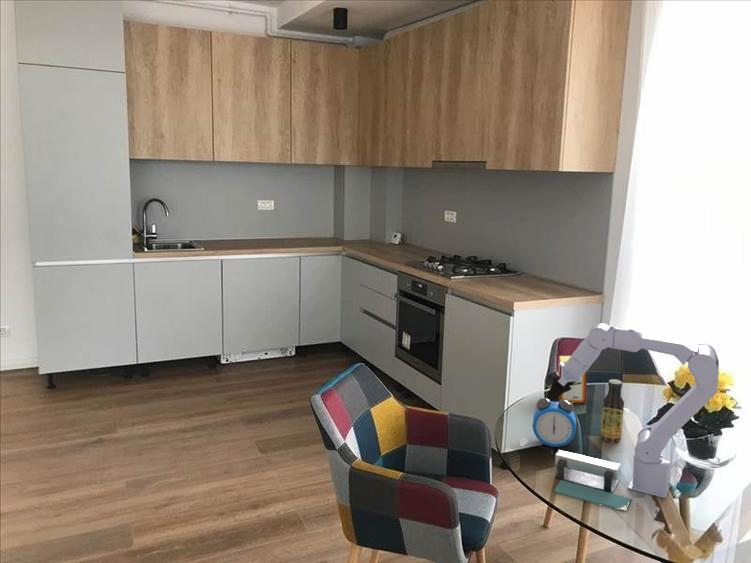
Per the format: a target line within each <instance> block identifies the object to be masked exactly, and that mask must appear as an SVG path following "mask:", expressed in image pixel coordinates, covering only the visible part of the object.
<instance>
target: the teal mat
mask: <svg viewBox="0 0 751 563" xmlns="http://www.w3.org/2000/svg"><path fill="white" fill-rule="evenodd" d="M553 493H556V494H559V495H563V496H565V497H566V496H567V497H571V498H574V499H578V500H581V501H586V502H589V503H591V504H592V503H593V504H596V505H599V504H601V505H600V506H603V505H604V506H603V507H606V506H608V507H607V508H610V507H613V508H621V507H622V506H623V507H624V506H625V505H626V507H627V505H628V502H629V503H630V501H631V502H632V498H631V497H627V496H623V495H620V494H615V493H609V492H605V491H601V490H598V489H594V488H590V487H586V486H582V485H579V484H575V483H571V482H567V481H563V480H559V482H558V484H557V485H556V487H555V488H554V489H553ZM630 504H631V503H630ZM613 508H612V509H613Z"/></svg>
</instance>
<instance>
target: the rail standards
mask: <svg viewBox="0 0 751 563" xmlns="http://www.w3.org/2000/svg"><path fill="white" fill-rule="evenodd" d="M554 479H556V480H559V481H561V480H563V481H567V482H571V483H575V484H579V485H582V486H586V487H590V488H594V489H598V490H601V491H605V492H609V493H613V494H615V493H614V492H615V491H616V489H617V487H618V485H619V480H618V479H617V480H614V479H613V474H612V473H608V472H605V473H604V477H602V476H598V475H594V474H590V473H586V472H583V471H579V470H575V469H571V468H567V467H565V462H563V461H559V460H558V462H557V465H556V475H555V477H554Z"/></svg>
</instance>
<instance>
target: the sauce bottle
mask: <svg viewBox="0 0 751 563" xmlns="http://www.w3.org/2000/svg"><path fill="white" fill-rule="evenodd" d="M622 387H623V381H621V380H620V379H615V378H612V379H609V380H608V391H607V394H606V395H605V397H604V399H603V407H602V412H601V413H602V414H601V427H600V438H601V439H602V440H603V441H604V442H607V443H618V442H620V441H621V439H622V434H623V433H622V432H623V424H624V423H623V422H624V407H625V401H624V399H623V398H622Z"/></svg>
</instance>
